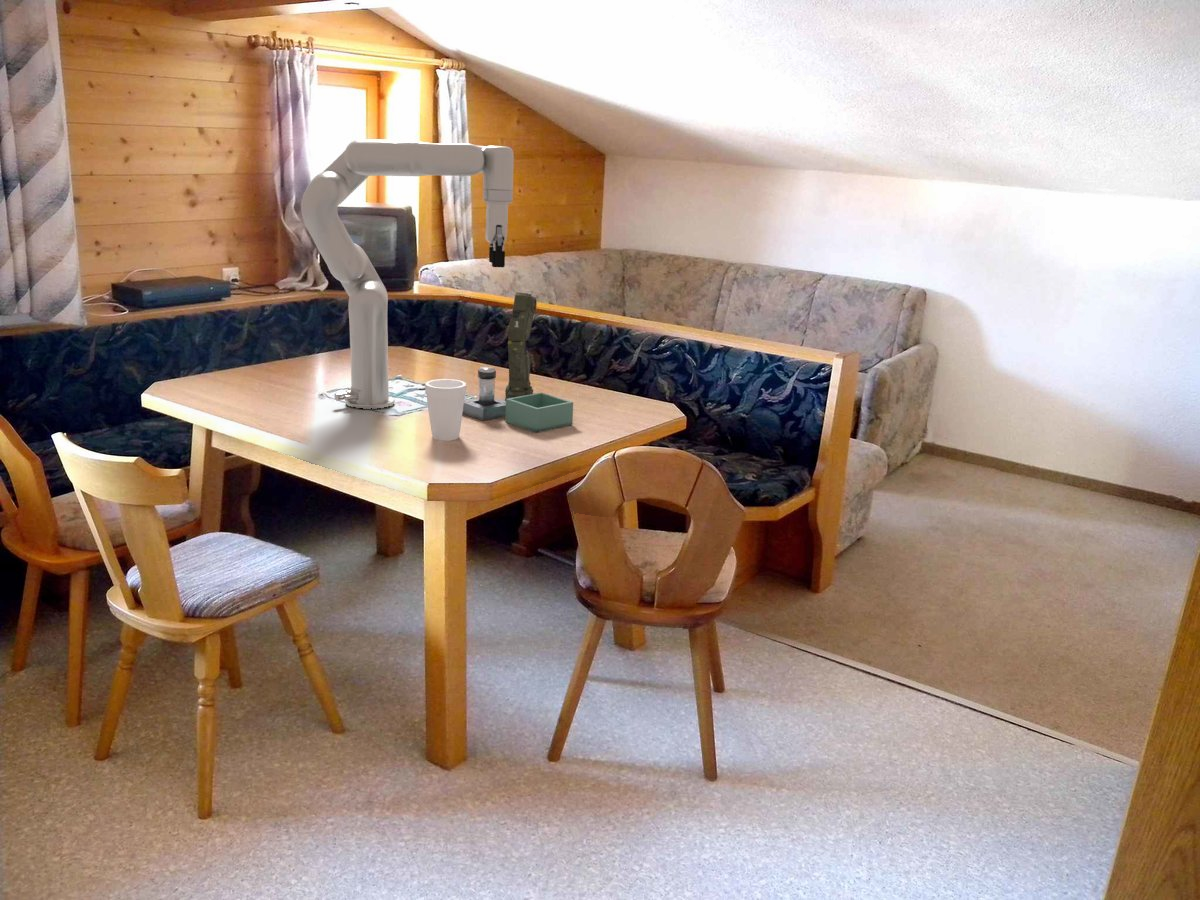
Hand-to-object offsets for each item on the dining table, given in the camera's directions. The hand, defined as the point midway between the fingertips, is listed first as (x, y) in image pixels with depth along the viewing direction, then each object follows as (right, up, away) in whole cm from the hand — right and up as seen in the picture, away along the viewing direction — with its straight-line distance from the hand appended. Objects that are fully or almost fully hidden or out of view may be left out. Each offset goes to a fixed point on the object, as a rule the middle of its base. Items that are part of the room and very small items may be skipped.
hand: (496, 264), depth 260 cm
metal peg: (-3, -39, +1) cm, 39 cm away
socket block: (-3, -39, +1) cm, 39 cm away
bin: (+11, -41, -6) cm, 43 cm away
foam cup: (-10, -45, -20) cm, 51 cm away
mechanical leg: (+4, -34, +19) cm, 39 cm away
